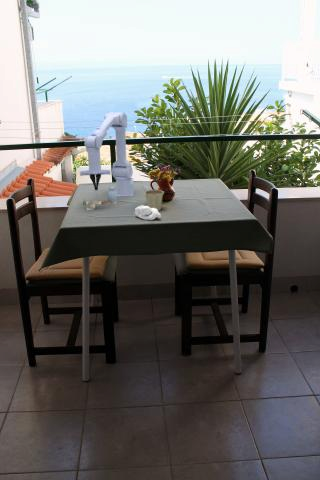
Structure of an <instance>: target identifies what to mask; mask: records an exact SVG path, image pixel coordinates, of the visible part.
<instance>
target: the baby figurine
mask: <svg viewBox="0 0 320 480" xmlns="http://www.w3.org/2000/svg"><path fill="white" fill-rule="evenodd" d="M134 215H135V217H139V218H140V219H142V220H146V221H153V220H155V219H156V218H157V219H160V218H161V217H162V214H161V213H160V212H159V211H158V210H157V209H156V208H150V207H149V206H148V205H144V204H141V205H138V206H137V207H135V208H134Z"/></svg>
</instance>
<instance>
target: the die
mask: <svg viewBox="0 0 320 480" xmlns="http://www.w3.org/2000/svg"><path fill="white" fill-rule="evenodd" d="M95 201H96V200H86V201H85V202H86V205H85V206H86V211H96V204H95Z"/></svg>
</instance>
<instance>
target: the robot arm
mask: <svg viewBox="0 0 320 480" xmlns="http://www.w3.org/2000/svg"><path fill="white" fill-rule="evenodd" d="M127 116H128V115H127V114H126V113H125V112H123V111H122V112H116V111H115V112H112V111H111V112H110V111H107V112H105V114H104V120H103V121H102V124H101V125H100V126H96V128H95V129H94V131H93V132H92V133H91V134H90V135H88V136H86V137H85V139H84V143H83V144H84V146H85V149H86V152H87V162H88V170H80V171H79V177H82V176H89V178H90V180H91V182H92V185H93V187H94V191H99V185H100V180H101V178H102V175H103V176H104V175H110V176H111V174H112V176H113V178H114V180H115V182H116V183H115V186H116V187H115V190H116V191H117V197H126V196H127V197H130V196H135V187H134V184H135V183H134V178H133V177H132V176H133V174H134V170H133V167H132V166H133V165H132V163H131V162H130V161H129V160H128V159H127V145H126V144H127V143H126V128H128V117H127ZM110 128H113V130H115V150H116V151H115V152H116V153H115V154H116V160H115V161H114V162H113V163H112V168H111V169H102V164H101V151H100V150H101V148H102V144H103V141H104V139H105V138H106V136H107V135H108V133H107V131H108V130H109V129H110Z"/></svg>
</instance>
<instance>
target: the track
mask: <svg viewBox="0 0 320 480" xmlns="http://www.w3.org/2000/svg"><path fill="white" fill-rule="evenodd" d="M94 201H95V205H114V204H118V201H117V202H116V203H109V202H108V200H94ZM86 202H87V201H86V198H83V199H82V205H83V206H86Z"/></svg>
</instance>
